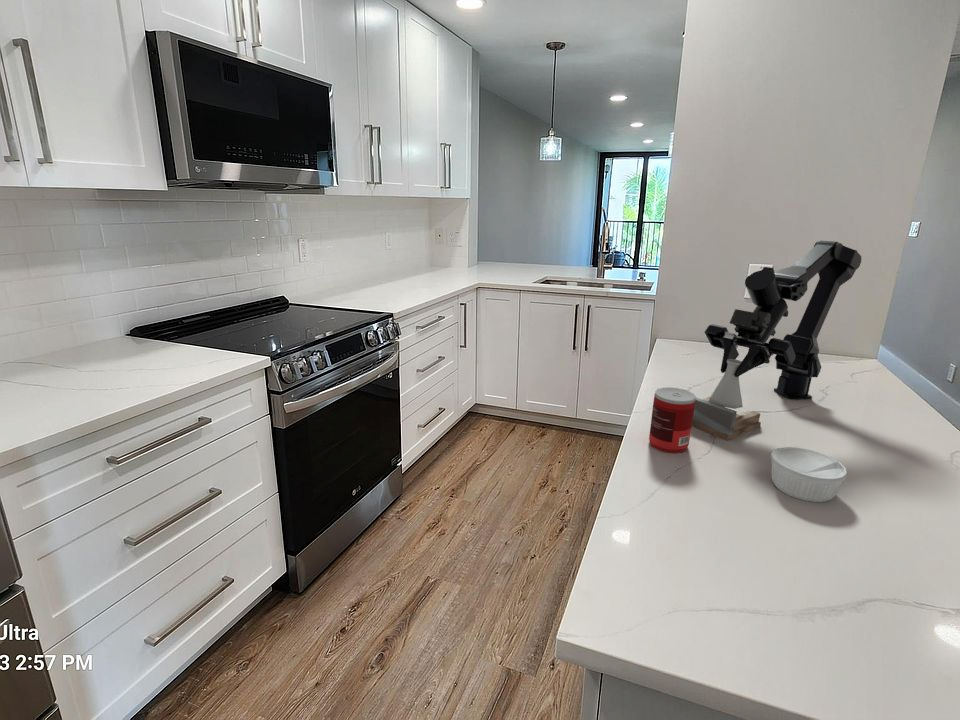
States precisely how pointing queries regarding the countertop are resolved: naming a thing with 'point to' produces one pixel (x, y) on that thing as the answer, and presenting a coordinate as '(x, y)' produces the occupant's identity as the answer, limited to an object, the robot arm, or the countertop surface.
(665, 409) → the canned food
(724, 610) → the countertop surface
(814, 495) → the ramekin
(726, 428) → the stand
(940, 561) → the countertop surface
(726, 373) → the flask
